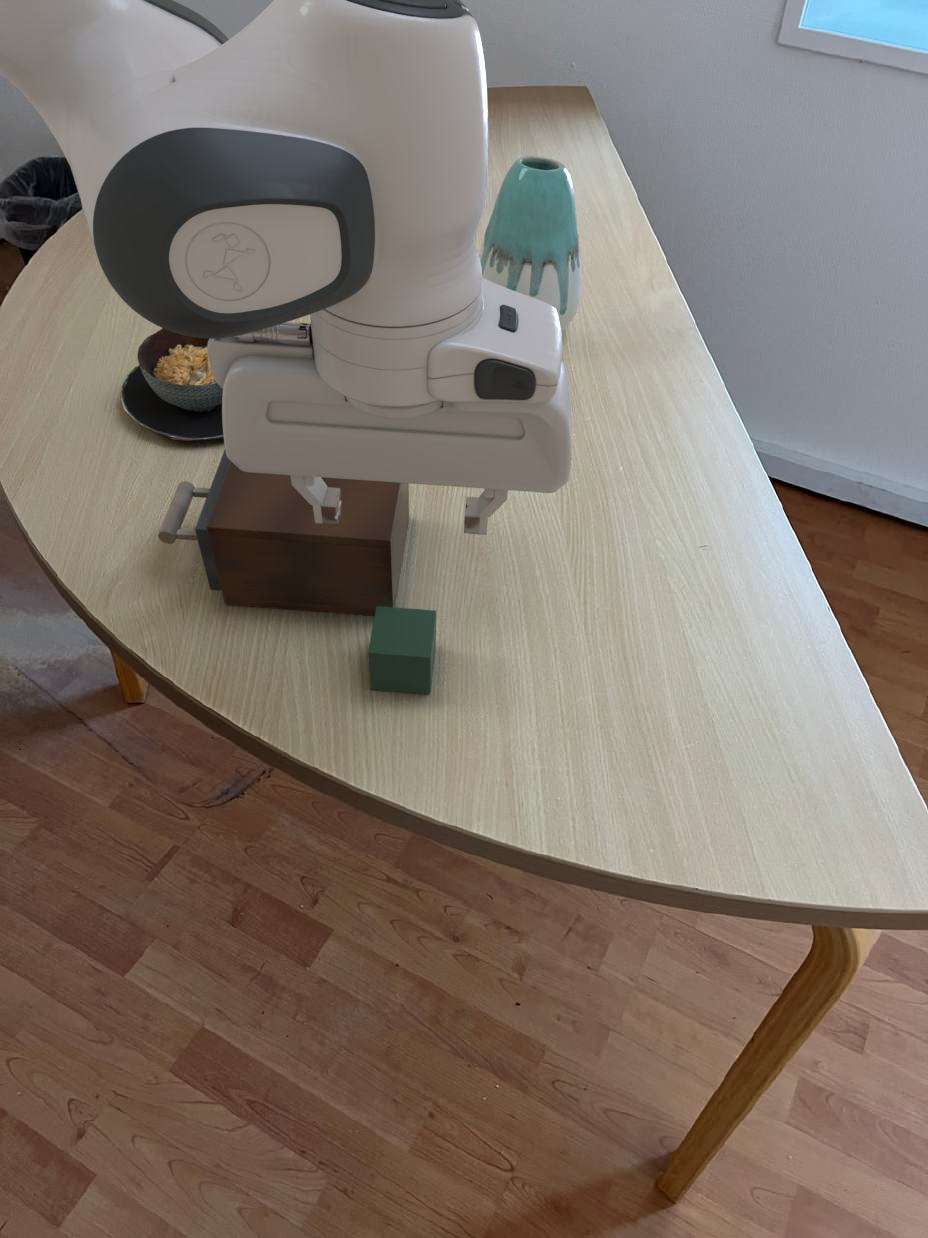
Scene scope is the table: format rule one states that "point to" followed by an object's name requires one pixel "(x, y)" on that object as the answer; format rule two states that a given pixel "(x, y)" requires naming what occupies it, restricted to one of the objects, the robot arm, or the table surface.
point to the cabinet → (308, 544)
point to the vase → (536, 236)
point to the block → (402, 650)
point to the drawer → (178, 512)
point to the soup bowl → (174, 388)
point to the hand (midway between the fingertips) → (402, 522)
